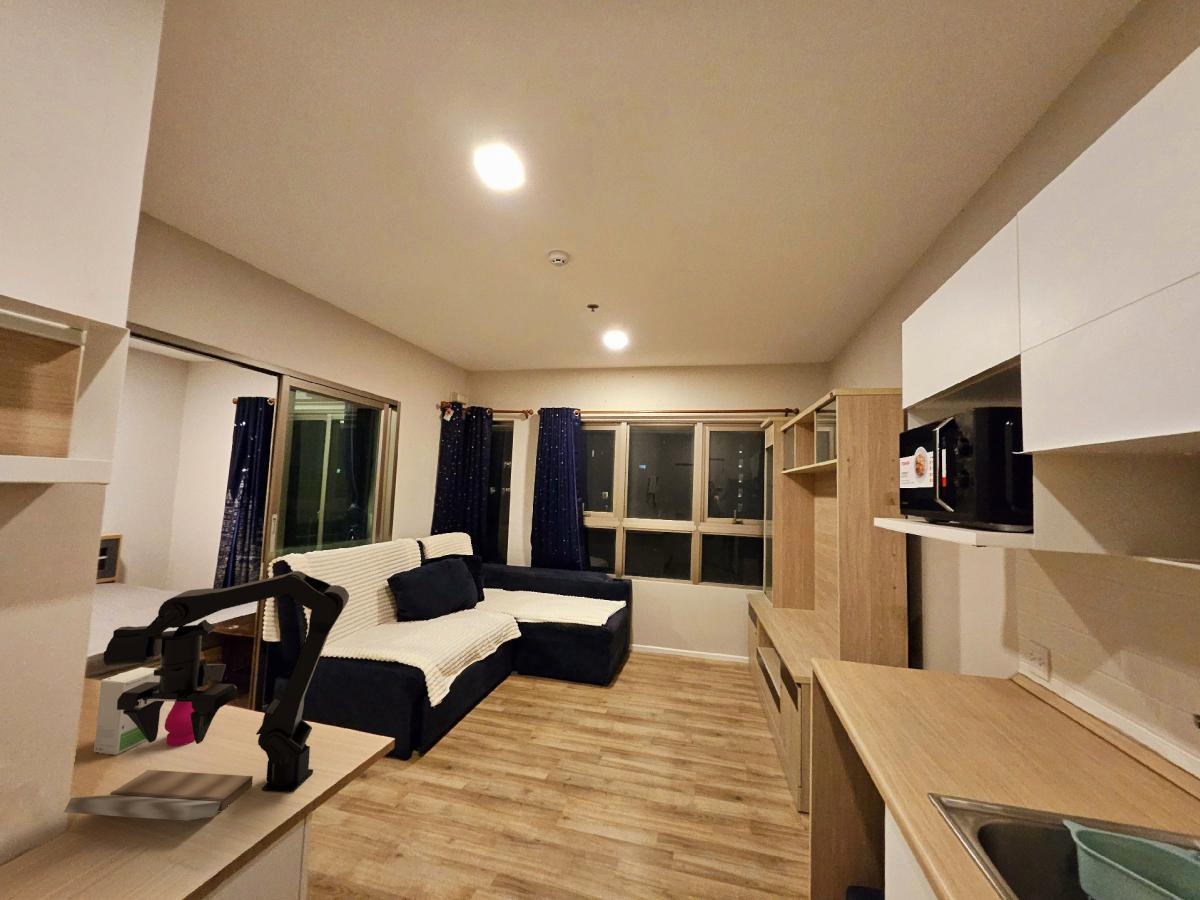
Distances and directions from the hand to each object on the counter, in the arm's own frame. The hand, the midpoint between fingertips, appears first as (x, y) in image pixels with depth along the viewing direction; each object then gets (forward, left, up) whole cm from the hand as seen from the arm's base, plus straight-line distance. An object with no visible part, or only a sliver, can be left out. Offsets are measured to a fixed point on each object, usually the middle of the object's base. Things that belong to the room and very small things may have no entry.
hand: (176, 742), depth 88 cm
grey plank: (-1, +6, -9) cm, 11 cm away
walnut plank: (-1, -2, -11) cm, 11 cm away
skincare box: (+27, -16, -11) cm, 34 cm away
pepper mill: (+16, -19, -11) cm, 28 cm away
